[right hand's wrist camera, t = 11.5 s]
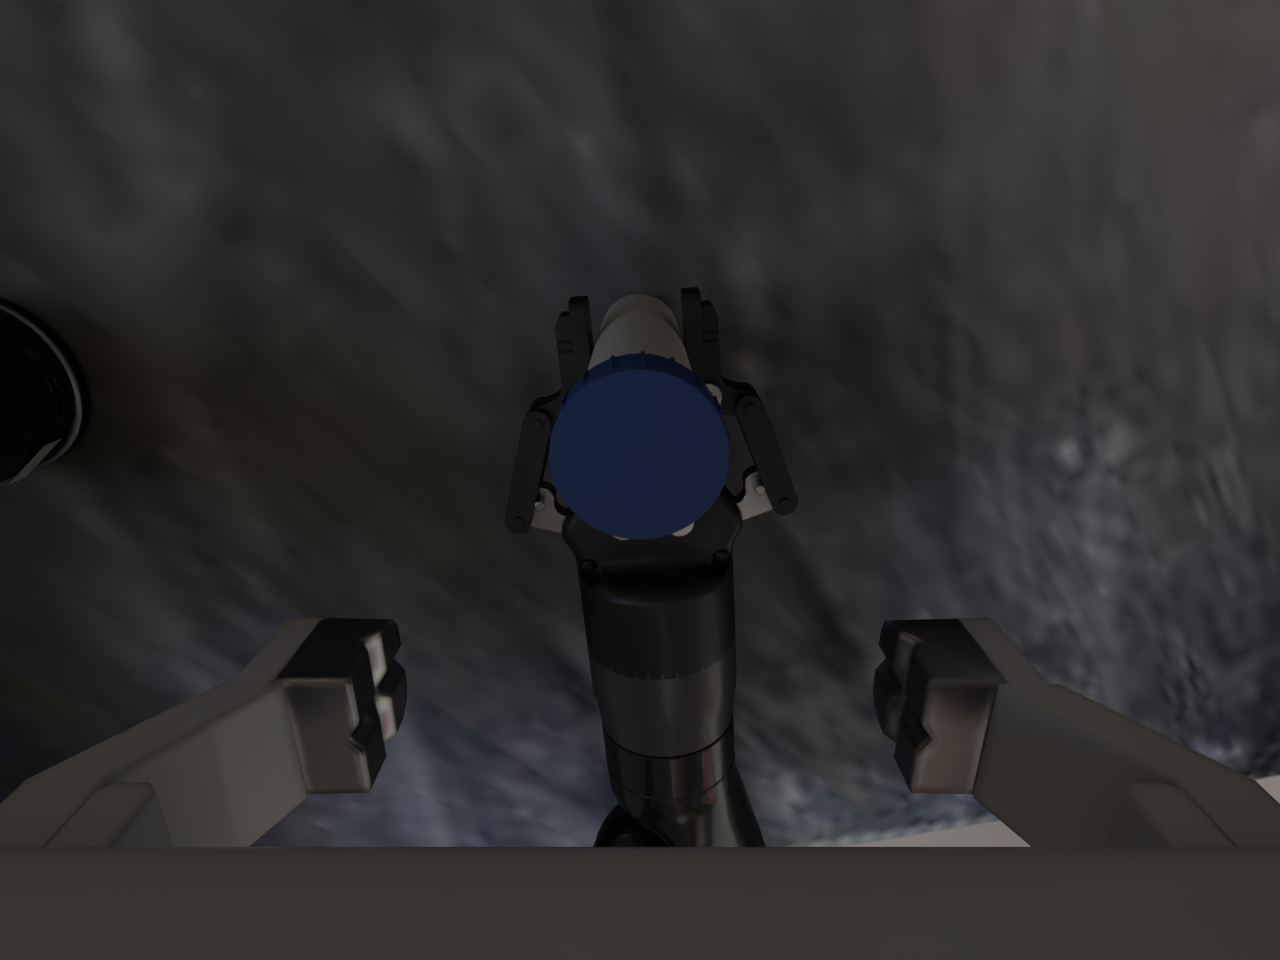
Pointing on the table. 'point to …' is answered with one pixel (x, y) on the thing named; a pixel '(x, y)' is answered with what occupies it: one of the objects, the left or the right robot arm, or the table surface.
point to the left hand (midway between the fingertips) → (633, 296)
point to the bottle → (639, 331)
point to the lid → (639, 447)
